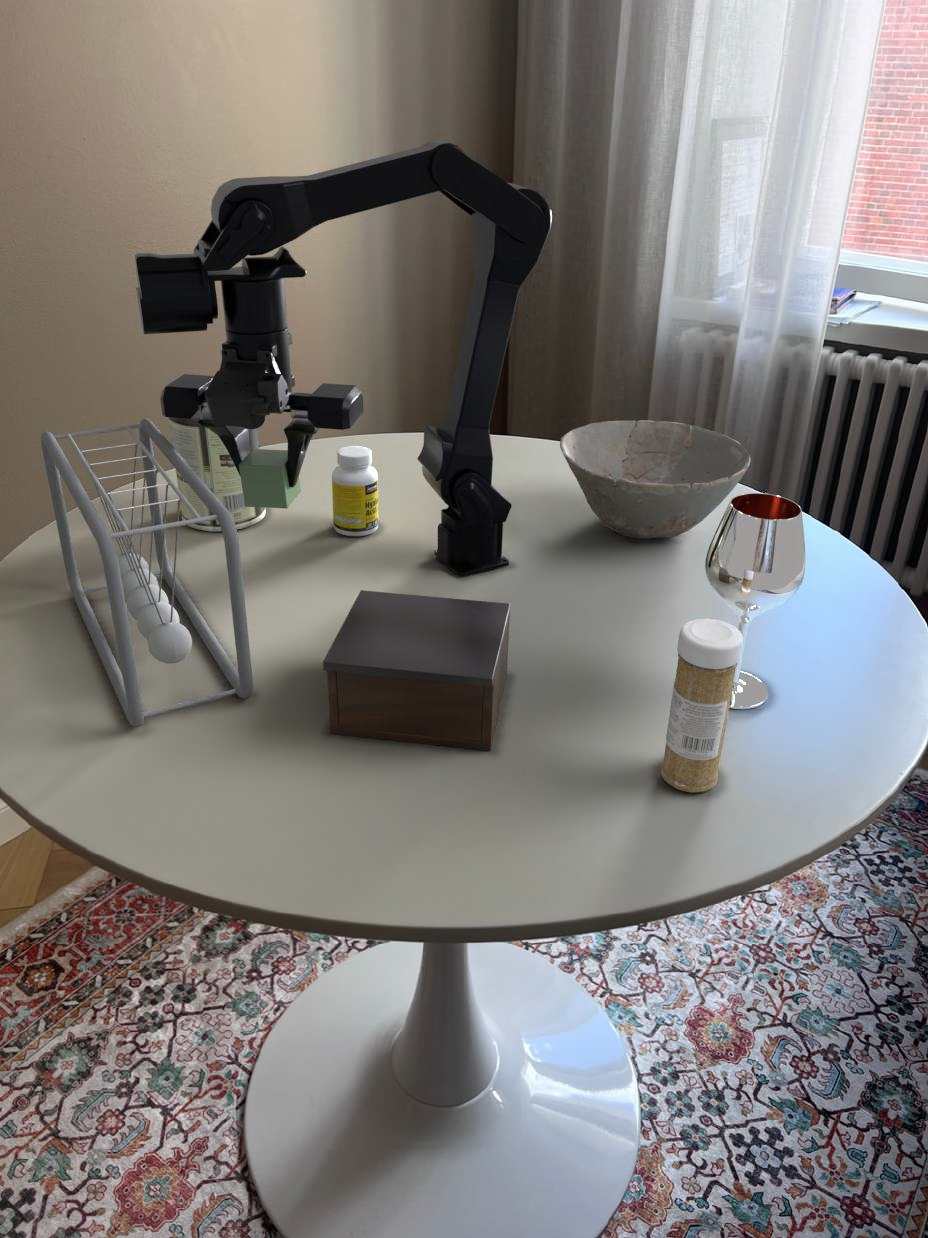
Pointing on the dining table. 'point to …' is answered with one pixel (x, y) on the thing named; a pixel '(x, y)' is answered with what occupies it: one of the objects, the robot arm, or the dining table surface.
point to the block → (267, 479)
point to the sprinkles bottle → (700, 703)
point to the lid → (420, 638)
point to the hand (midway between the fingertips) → (269, 484)
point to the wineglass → (756, 569)
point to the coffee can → (212, 473)
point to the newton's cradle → (146, 570)
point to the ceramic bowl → (653, 473)
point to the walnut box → (417, 708)
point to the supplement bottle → (355, 492)
